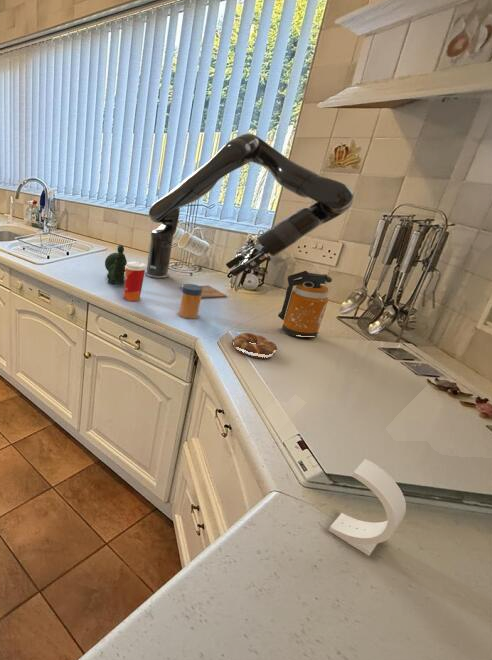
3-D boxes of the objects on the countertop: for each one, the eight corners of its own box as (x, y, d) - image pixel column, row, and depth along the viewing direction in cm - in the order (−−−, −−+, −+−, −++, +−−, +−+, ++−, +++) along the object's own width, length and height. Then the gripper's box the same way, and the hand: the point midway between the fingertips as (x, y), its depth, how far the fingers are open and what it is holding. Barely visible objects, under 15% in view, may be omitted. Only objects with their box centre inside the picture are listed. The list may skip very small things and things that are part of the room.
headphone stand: (340, 516, 64) (365, 458, 59) (389, 545, 59) (420, 485, 54) (328, 530, 61) (353, 471, 57) (378, 562, 57) (410, 501, 52)
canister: (316, 343, 118) (336, 279, 110) (272, 333, 124) (288, 273, 116) (316, 332, 124) (335, 271, 117) (274, 323, 131) (290, 265, 123)
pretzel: (221, 341, 120) (223, 330, 118) (255, 339, 120) (258, 328, 119) (247, 361, 108) (250, 349, 107) (284, 359, 109) (288, 347, 108)
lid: (195, 296, 131) (196, 291, 130) (177, 291, 135) (178, 286, 135) (205, 292, 134) (206, 287, 133) (187, 287, 139) (188, 282, 138)
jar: (175, 312, 140) (180, 285, 137) (191, 311, 141) (196, 285, 137) (184, 319, 135) (189, 291, 131) (201, 318, 135) (206, 290, 132)
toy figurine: (128, 293, 163) (123, 270, 185) (134, 250, 154) (128, 231, 176) (105, 292, 165) (102, 269, 187) (109, 249, 156) (106, 231, 178)
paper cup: (127, 293, 158) (131, 260, 153) (145, 298, 153) (150, 263, 148) (117, 298, 153) (121, 264, 148) (135, 304, 148) (140, 268, 143)
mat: (180, 288, 163) (181, 286, 163) (208, 286, 164) (208, 285, 164) (197, 298, 152) (197, 297, 152) (226, 297, 153) (226, 295, 153)
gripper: (294, 252, 115) (241, 285, 122) (280, 241, 127) (232, 272, 135) (278, 233, 114) (225, 267, 122) (265, 224, 127) (218, 256, 134)
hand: (229, 270), depth 128 cm, fingers open, 8 cm apart
